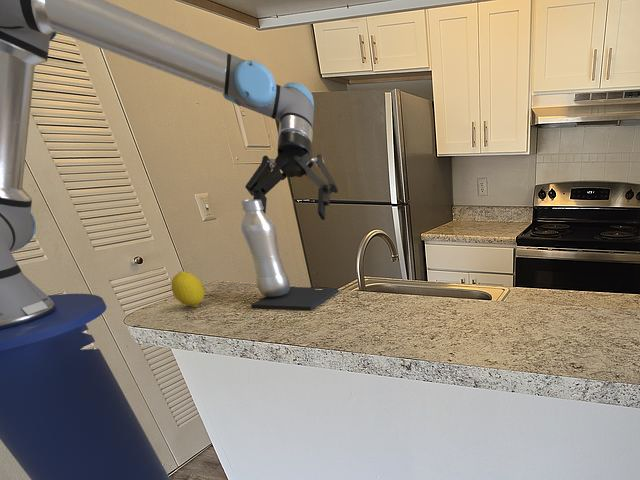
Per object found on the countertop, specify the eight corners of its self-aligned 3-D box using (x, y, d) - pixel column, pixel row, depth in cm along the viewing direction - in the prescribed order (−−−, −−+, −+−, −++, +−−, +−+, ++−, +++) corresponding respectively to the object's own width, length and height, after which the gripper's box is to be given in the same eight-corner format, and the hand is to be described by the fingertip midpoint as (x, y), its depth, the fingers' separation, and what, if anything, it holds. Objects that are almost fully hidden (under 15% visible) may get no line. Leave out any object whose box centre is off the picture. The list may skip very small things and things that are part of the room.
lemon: (174, 312, 85) (158, 275, 82) (190, 303, 90) (176, 267, 86) (200, 311, 85) (186, 274, 82) (215, 302, 90) (202, 267, 86)
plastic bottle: (275, 301, 87) (249, 202, 77) (253, 298, 89) (225, 201, 80) (298, 292, 92) (276, 198, 83) (277, 289, 94) (253, 198, 85)
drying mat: (251, 307, 86) (250, 304, 86) (284, 289, 97) (283, 286, 96) (311, 310, 84) (310, 306, 84) (338, 291, 94) (338, 288, 94)
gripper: (351, 152, 102) (350, 224, 96) (250, 156, 101) (243, 229, 95) (343, 128, 95) (341, 204, 89) (234, 131, 94) (225, 208, 88)
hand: (290, 217), depth 92 cm, fingers open, 13 cm apart
